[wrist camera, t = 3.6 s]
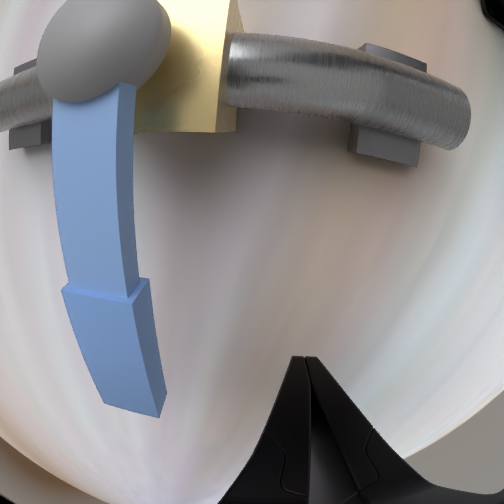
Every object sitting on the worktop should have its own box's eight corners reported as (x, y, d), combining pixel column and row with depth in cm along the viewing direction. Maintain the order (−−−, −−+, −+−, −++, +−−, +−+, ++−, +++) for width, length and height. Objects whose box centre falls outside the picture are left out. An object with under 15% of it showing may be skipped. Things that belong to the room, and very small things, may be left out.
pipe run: (422, 71, 9) (509, 53, 4) (413, 165, 11) (499, 199, 6) (22, 71, 9) (-54, 71, 4) (17, 147, 11) (-59, 171, 6)
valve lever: (76, 10, 4) (50, 0, 3) (180, -14, 4) (164, -36, 3) (106, 378, 9) (95, 400, 8) (177, 395, 9) (170, 420, 8)
